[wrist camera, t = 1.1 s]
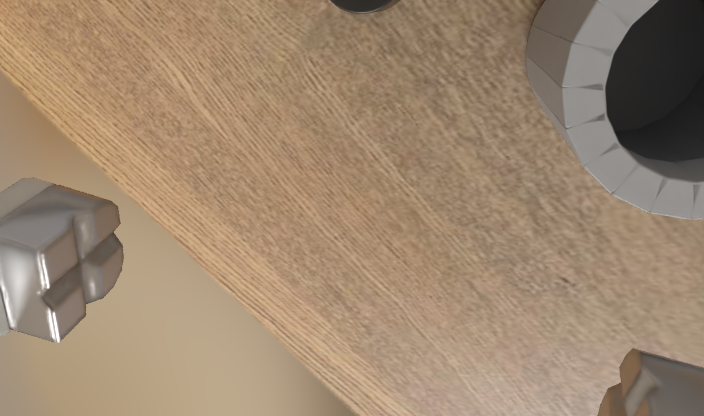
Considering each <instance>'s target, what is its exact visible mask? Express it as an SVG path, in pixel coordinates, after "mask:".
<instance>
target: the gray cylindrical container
mask: <svg viewBox="0 0 704 416" xmlns="http://www.w3.org/2000/svg"><path fill="white" fill-rule="evenodd" d="M526 68H527V74H528V79H529V84H530V86H531V88H532V91H533V93H534V95H535V97H536V99H537V101H538V103H539V105H540V107H541V108H542V109H543V111H544V112H545V114H546V115H547V117H548V118H549V119H550V121H551V122H552V124H553V125H554V126H555V128H556V129H557V131H558V132H559V133H560V135H561V136H562V138H563V139H564V141H565V142H566V143H567V145H568V146H569V148H570V149H571V150H572V152H573V153H574V155H575V156H576V157H577V159H578V160H579V162H580V163H581V164H582V166H583V167H584V168H585V169H586V170H587V171H588V172H589V173H590V174H591V175H592V176H593V177H594V178H595V179H596V180H597V181H598V182H599V183H600V184H601V185H602V186H603V187H604V188H605V189H606V190H607V191H608V192H609V193H611V194H612V195H613V196H615V197H617V198H619V199H621V200H623V201H625V202H627V203H629V204H631V205H633V206H635V207H637V208H639V209H641V210H643V211H645V212H649V213H651V214H658V215H664V216H670V217H676V218H682V219H692V220H697V219H704V0H545V2H544V3H543V5H542V6H541V8H540V9H539V11H538V13H537V15H536V17H535V19H534V21H533V24H532V27H531V29H530V32H529V37H528V41H527V48H526Z"/></svg>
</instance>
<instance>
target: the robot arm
mask: <svg viewBox="0 0 704 416" xmlns="http://www.w3.org/2000/svg"><path fill="white" fill-rule="evenodd" d="M119 225H120V217H119V210H118V206H117V205H115V204H114V203H113V202H112V201H109V200H107V199H103V198H100V197H97V196H94V195H90V194H87V193H84V192H80V191H77V190H74V189H71V188H68V187H64V186H61V185H56V184H53V183H50V182H47V181H43V180H40V179H37V178H23V179H21V180H19V181H18V182H16V183H14V184H13V185H12V186H10V187H8V188H7V189H5V190H3V191H2V192H1V193H0V336H3V335H5V334H7V333H9V332H10V329H11V330H15V331H18V332H21V333H25V334H28V335H31V336H35V337H38V338H42V339H45V340H48V341H51V342H55V343H59V342H60V341H61V340H62V339H63V338H64V337H65V336H66V335H67V334H68V333H69V332H70V331H71V330H72V329H73V328H74V327H75V326H76V325H77V324H78V323H79V322H80V321H81V320H82V319H83V318H84V317H85V316H86V304H88V303H91V302H94V301H97V300H99V299H102V298H104V296H106V294H107V293H108V292H109V291H110V290H111V289H112V288H113V287H114V285H115V283H116V281H117V279H118V277H119V275H120V273H121V271H122V265H123V259H124V256H123V245H122V244H121V242H120V241H119V239H118V238H117V237H116V235H115V234H114V231H115V229H116V228H117V227H118V226H119ZM619 368H620V377H621V383H619V384H617V385H615V386H612V387H610V388H608V390H607V392H606V394H605V396H604V398H603V400H602V402H601V404H600V408H599V412H598V416H704V368H703V367H699V366H695V365H692V364H688V363H684V362H681V361H677V360H674V359H670V358H666V357H663V356H659V355H656V354H652V353H648V352H645V351H641V350H637V349H634V348H633V349H632V350H631V351H630V352H629V353H628V354H627V355H626V356H625V358H624V360H623V362H622V363H621V365H620V367H619Z"/></svg>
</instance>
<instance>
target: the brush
mask: <svg viewBox="0 0 704 416" xmlns="http://www.w3.org/2000/svg"><path fill="white" fill-rule="evenodd" d="M330 1H331V2H332V3H334V4H335V5H336V6H338V7H339V8H341V9H343V10H345V11H348V12H351V13H356V14H366V13H372V12H378V11H382V10H386V9H388V8H390V7H392V6H394V5H395V4H396V3H398V2H399V1H400V0H330Z"/></svg>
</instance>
